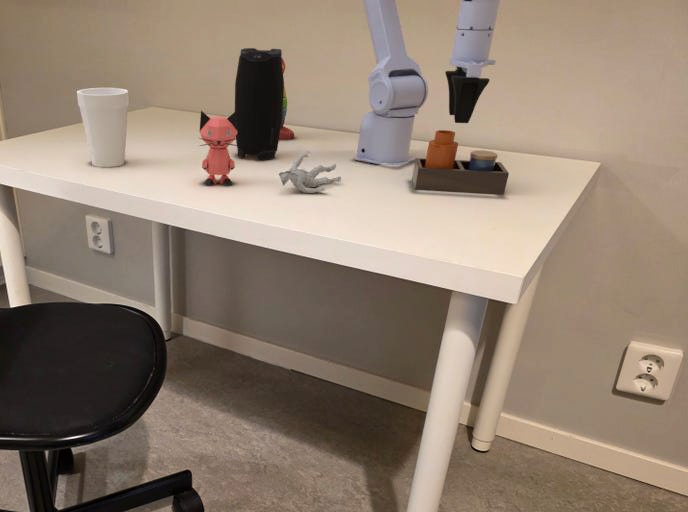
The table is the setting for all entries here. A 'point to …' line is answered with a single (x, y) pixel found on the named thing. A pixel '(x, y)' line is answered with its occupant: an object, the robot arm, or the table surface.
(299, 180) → the soldier figure
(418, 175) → the divided storage box
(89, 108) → the foam cup
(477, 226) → the table surface
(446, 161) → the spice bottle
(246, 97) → the portable speaker
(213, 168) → the cat figurine
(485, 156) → the blue jar
